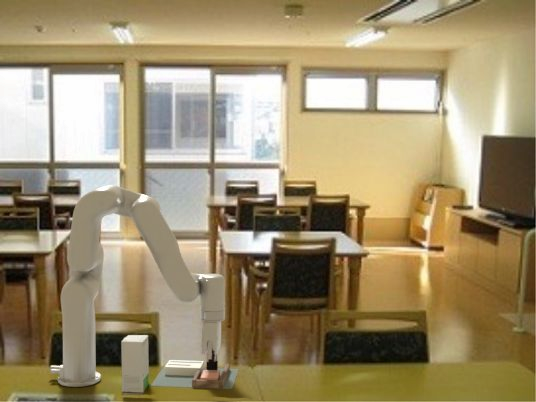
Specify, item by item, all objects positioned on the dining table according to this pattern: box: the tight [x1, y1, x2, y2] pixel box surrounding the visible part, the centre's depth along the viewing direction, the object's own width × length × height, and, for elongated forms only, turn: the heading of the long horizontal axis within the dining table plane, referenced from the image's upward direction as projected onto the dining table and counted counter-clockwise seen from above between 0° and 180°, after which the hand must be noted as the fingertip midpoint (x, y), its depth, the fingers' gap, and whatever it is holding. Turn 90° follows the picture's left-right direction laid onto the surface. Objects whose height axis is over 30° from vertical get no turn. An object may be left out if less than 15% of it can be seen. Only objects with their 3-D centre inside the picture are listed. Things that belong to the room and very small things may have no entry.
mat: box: [150, 365, 240, 390], centre depth 212 cm, size 24×18×1 cm
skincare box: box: [120, 334, 150, 396], centre depth 202 cm, size 8×7×16 cm
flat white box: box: [165, 359, 205, 376], centre depth 217 cm, size 11×7×3 cm, turn 86°
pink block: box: [201, 370, 220, 380], centre depth 208 cm, size 5×7×3 cm
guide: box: [191, 363, 231, 389], centre depth 211 cm, size 9×17×2 cm, turn 176°
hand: (212, 373), depth 213 cm, fingers closed
